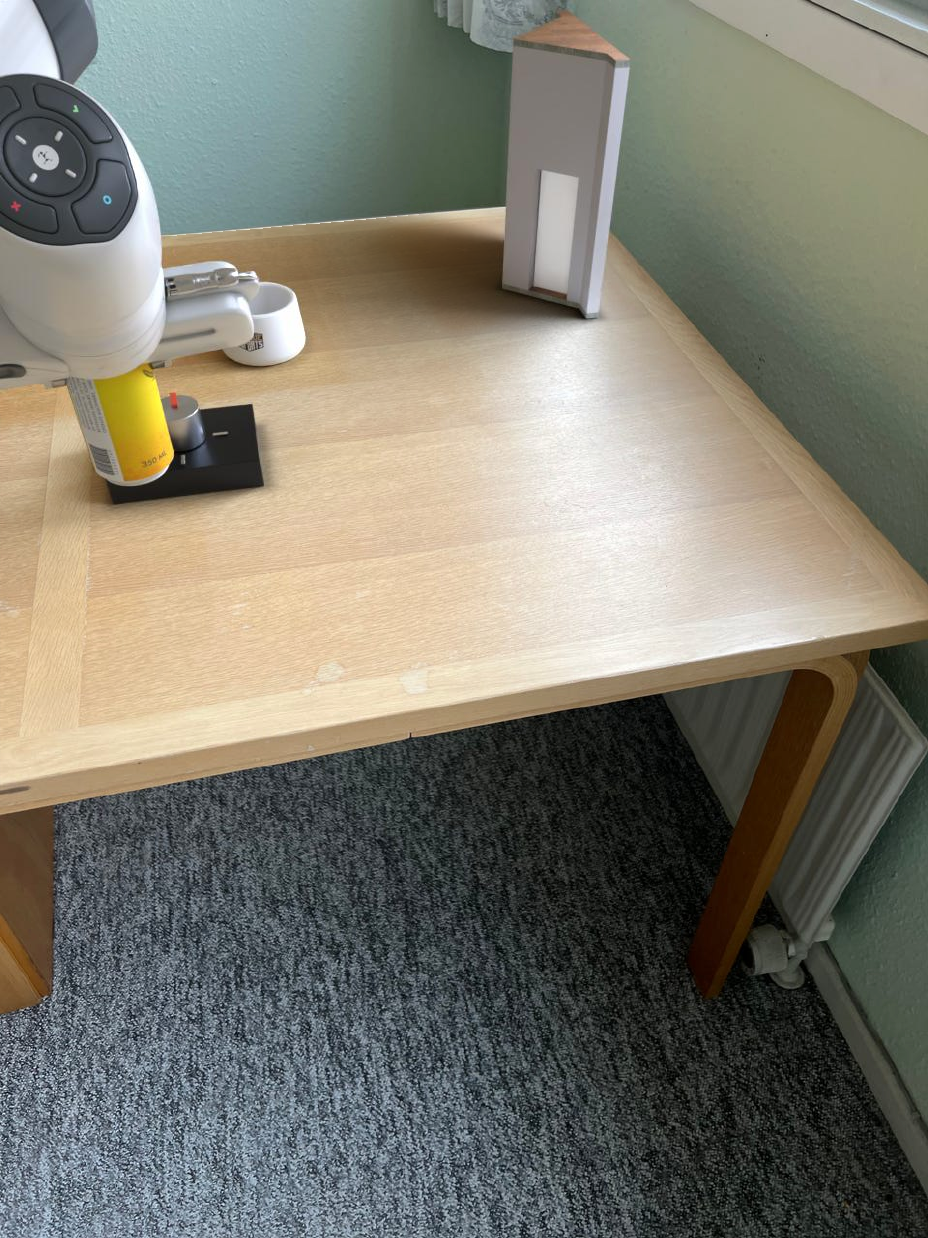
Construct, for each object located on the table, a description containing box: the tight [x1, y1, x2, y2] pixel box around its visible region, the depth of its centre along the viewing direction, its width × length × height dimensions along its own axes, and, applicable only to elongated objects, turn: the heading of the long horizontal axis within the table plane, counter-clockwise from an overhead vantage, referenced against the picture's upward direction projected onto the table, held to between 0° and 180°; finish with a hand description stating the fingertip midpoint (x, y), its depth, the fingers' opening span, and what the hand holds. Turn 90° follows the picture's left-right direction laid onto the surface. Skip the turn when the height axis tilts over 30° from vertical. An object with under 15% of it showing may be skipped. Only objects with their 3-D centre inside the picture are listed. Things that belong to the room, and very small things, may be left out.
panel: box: [104, 403, 265, 505], centre depth 90 cm, size 14×10×3 cm
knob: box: [160, 391, 206, 452], centre depth 87 cm, size 4×4×4 cm
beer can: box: [65, 363, 174, 486], centre depth 67 cm, size 6×6×15 cm
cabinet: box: [501, 9, 631, 319], centre depth 110 cm, size 21×10×28 cm, turn 13°
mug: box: [222, 281, 306, 367], centre depth 105 cm, size 12×10×6 cm
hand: (106, 367), depth 67 cm, fingers closed on beer can, 6 cm apart
